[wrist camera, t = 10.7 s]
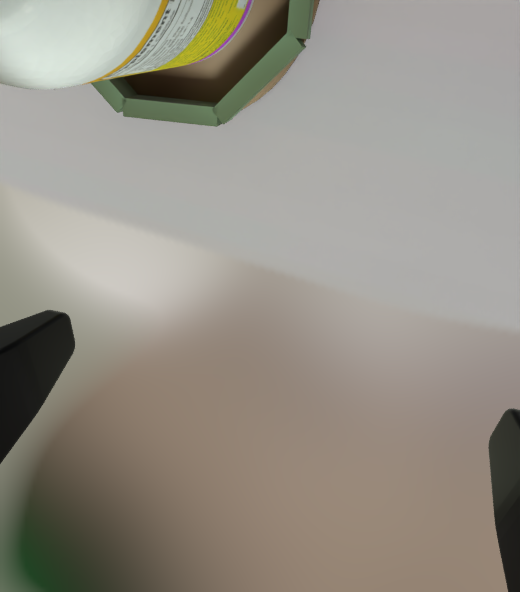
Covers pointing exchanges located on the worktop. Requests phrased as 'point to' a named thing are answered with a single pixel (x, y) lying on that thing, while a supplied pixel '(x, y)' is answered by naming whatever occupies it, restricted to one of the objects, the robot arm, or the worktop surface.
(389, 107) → the worktop surface
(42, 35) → the supplement bottle
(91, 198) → the worktop surface
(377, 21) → the worktop surface
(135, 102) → the coaster ring
